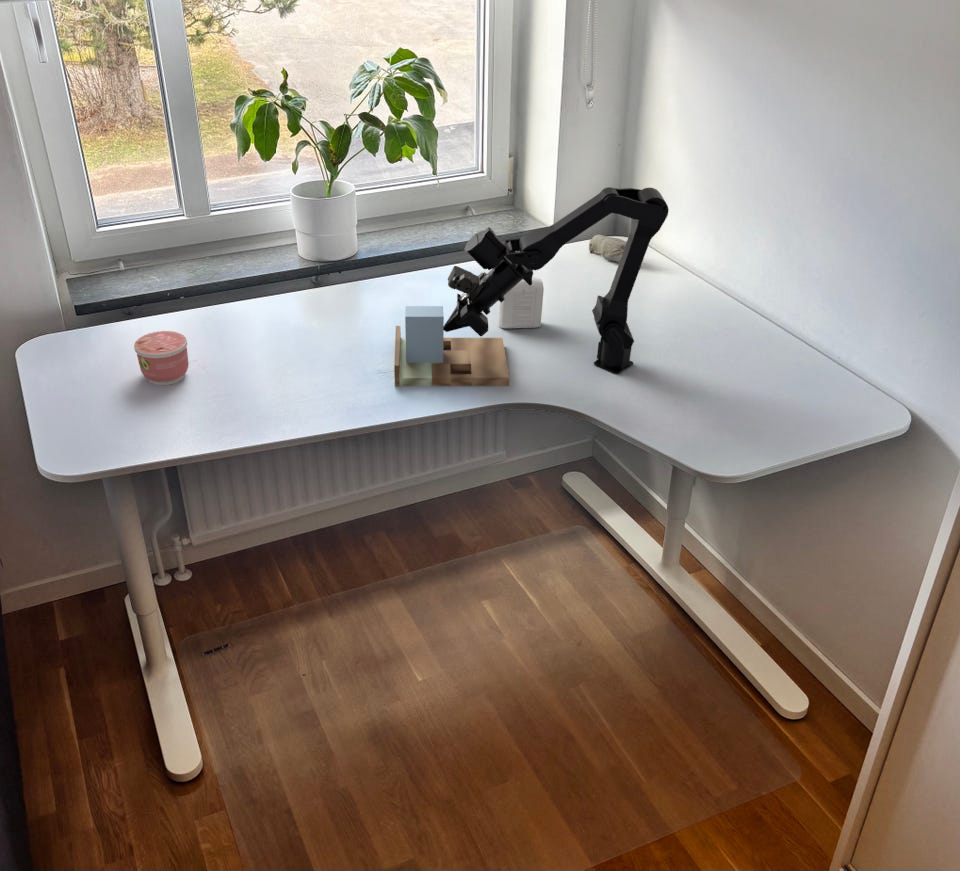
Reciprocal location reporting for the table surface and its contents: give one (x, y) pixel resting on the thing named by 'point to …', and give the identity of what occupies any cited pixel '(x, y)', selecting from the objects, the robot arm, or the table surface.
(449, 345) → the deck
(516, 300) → the photo printer
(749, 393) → the table surface
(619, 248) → the decorative bird
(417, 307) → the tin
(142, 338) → the container
